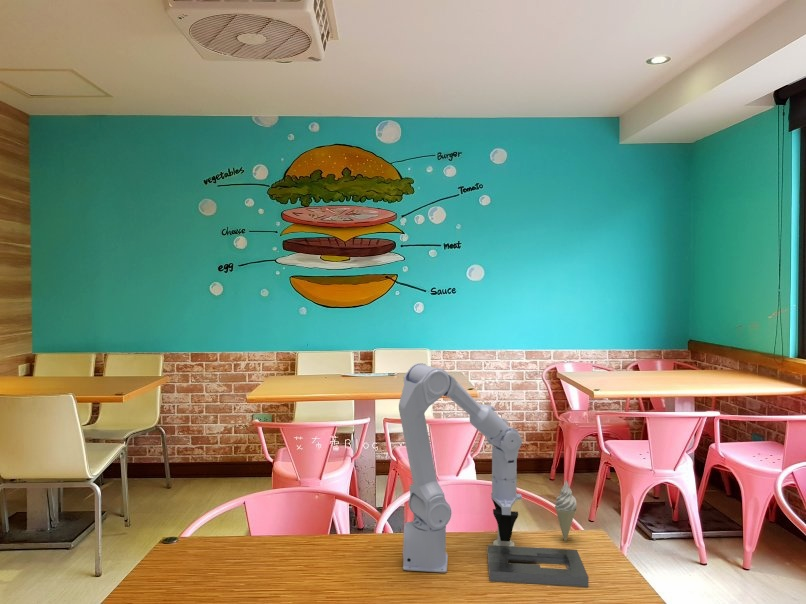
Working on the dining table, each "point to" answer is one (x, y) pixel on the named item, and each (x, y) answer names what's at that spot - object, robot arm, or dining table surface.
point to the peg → (503, 542)
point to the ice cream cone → (565, 509)
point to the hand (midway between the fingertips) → (504, 533)
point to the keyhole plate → (535, 566)
